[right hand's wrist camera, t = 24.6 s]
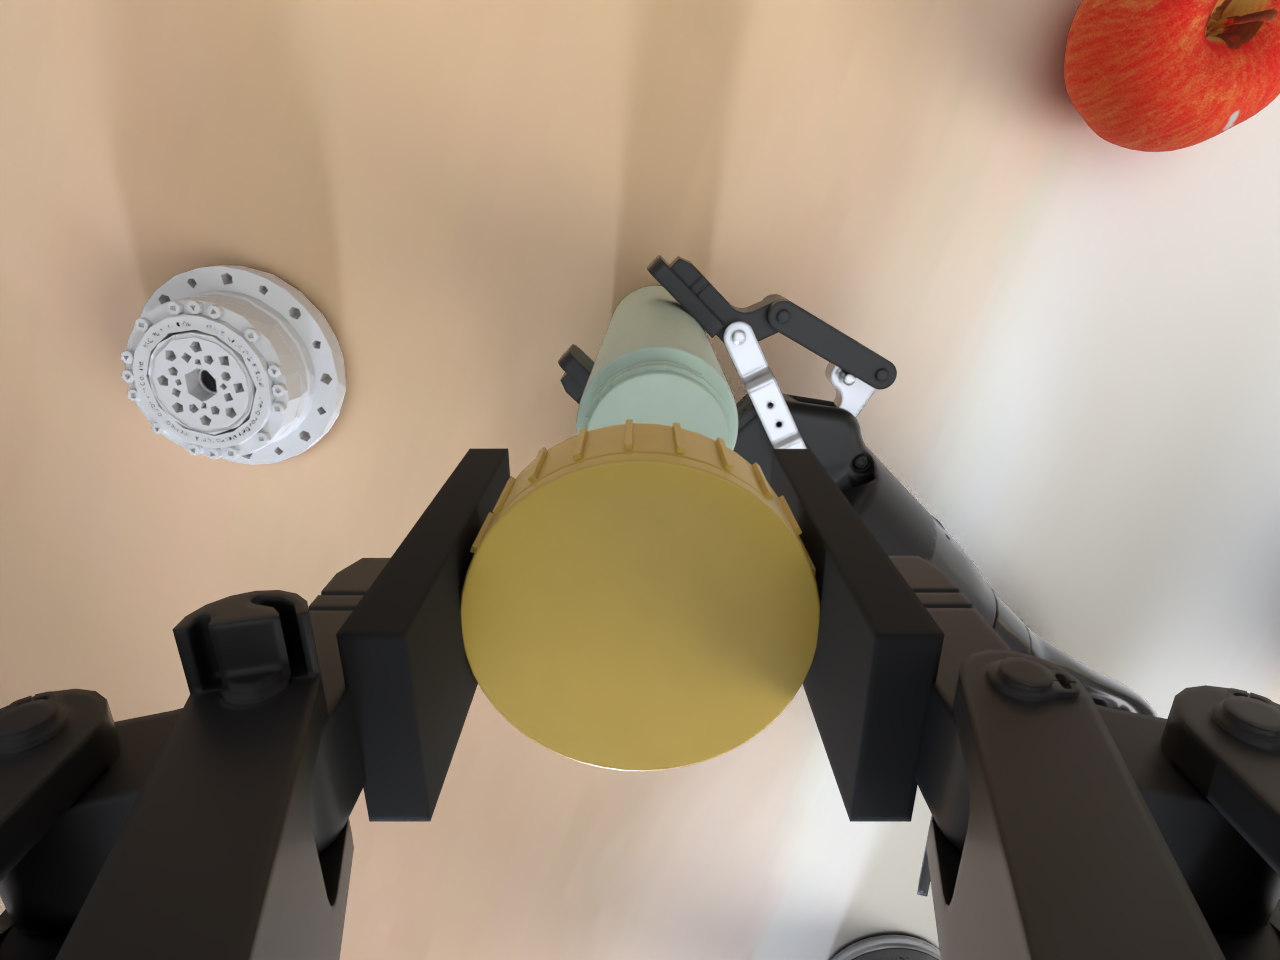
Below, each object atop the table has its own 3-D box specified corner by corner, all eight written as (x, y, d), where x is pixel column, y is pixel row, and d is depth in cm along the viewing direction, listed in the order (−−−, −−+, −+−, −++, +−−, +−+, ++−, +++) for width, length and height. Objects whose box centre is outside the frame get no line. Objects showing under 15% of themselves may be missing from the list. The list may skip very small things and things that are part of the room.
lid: (672, 748, 13) (678, 827, 12) (422, 603, 12) (386, 667, 10) (866, 538, 12) (904, 593, 10) (598, 349, 11) (590, 375, 9)
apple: (1223, 123, 32) (1400, 95, 24) (1040, 180, 33) (1156, 170, 25) (1220, -83, 29) (1419, -186, 21) (1021, -15, 30) (1144, -90, 22)
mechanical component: (354, 464, 38) (343, 274, 35) (318, 494, 34) (302, 283, 30) (169, 446, 38) (139, 254, 34) (110, 475, 34) (69, 260, 30)
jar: (620, 276, 35) (588, 339, 17) (709, 296, 35) (766, 379, 18) (602, 365, 36) (556, 506, 19) (687, 384, 36) (720, 539, 19)
